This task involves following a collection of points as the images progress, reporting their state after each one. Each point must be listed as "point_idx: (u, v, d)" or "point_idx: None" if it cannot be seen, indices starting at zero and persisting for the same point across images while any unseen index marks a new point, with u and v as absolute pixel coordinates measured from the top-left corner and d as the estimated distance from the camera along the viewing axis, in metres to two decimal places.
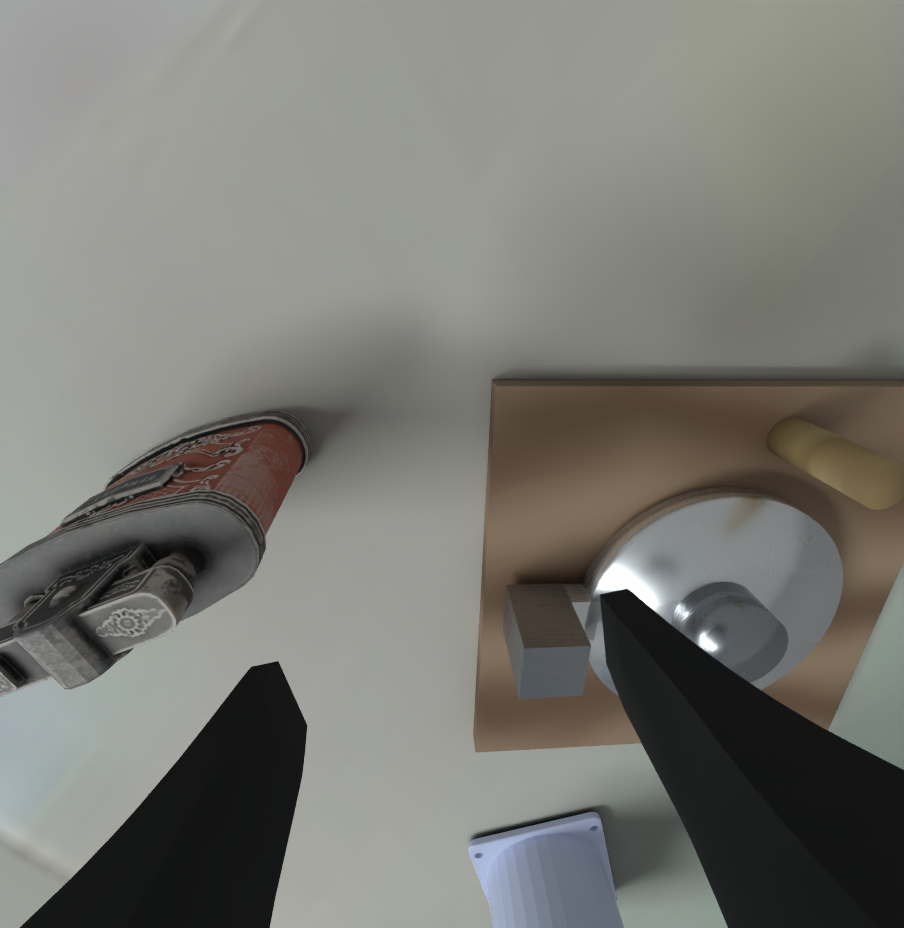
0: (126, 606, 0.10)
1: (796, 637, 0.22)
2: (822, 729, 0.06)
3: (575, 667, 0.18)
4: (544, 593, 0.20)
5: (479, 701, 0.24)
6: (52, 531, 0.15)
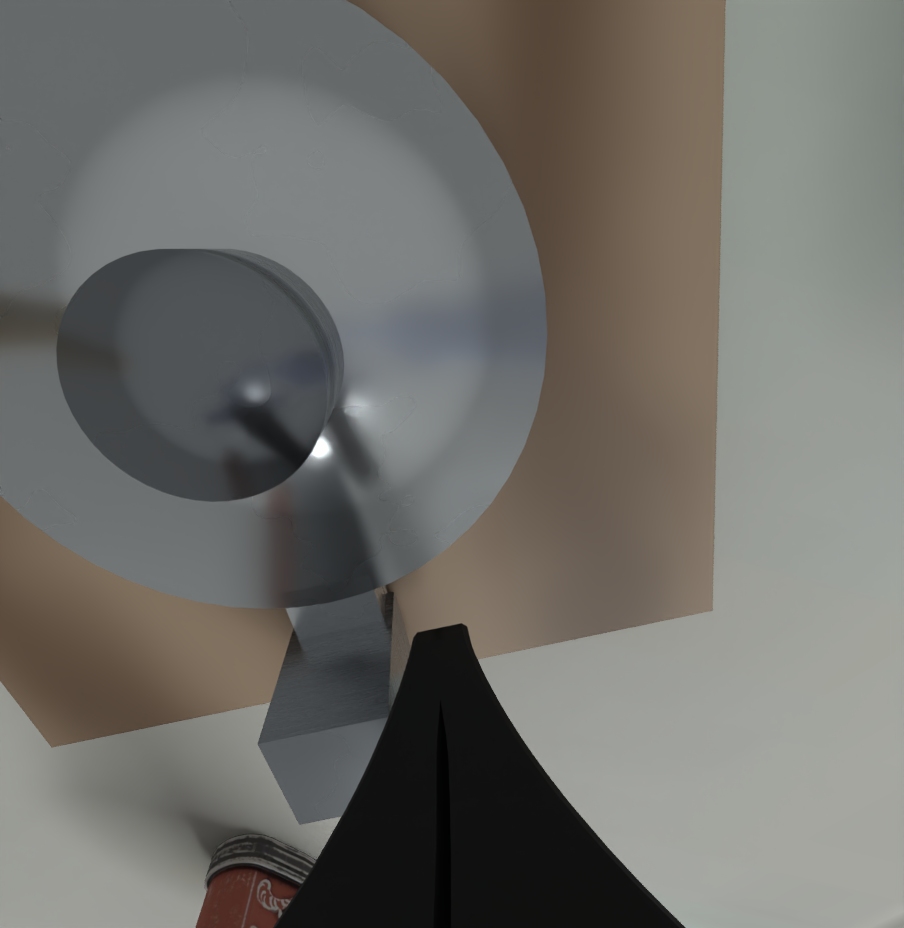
0: None
1: (226, 61, 0.07)
2: (546, 785, 0.06)
3: (318, 749, 0.09)
4: None
5: (588, 634, 0.14)
6: None
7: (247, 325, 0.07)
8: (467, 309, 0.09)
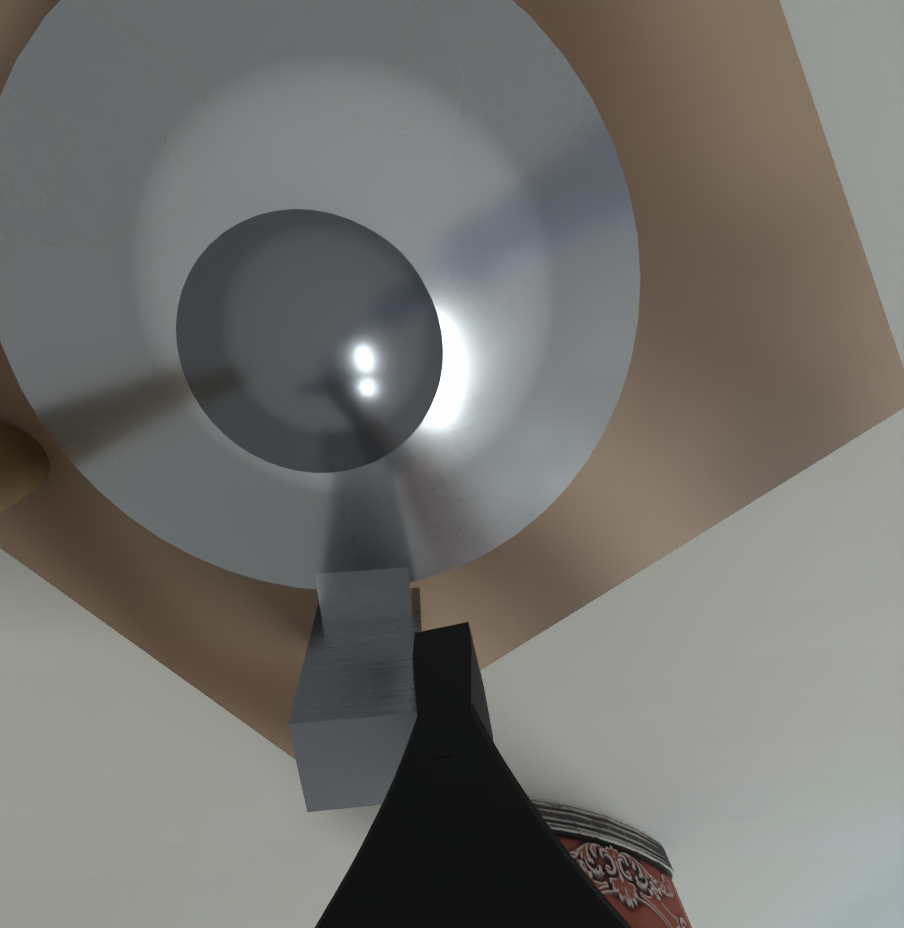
0: None
1: (390, 39, 0.07)
2: (515, 792, 0.06)
3: (347, 736, 0.09)
4: None
5: (778, 483, 0.13)
6: None
7: (380, 301, 0.07)
8: (563, 322, 0.09)
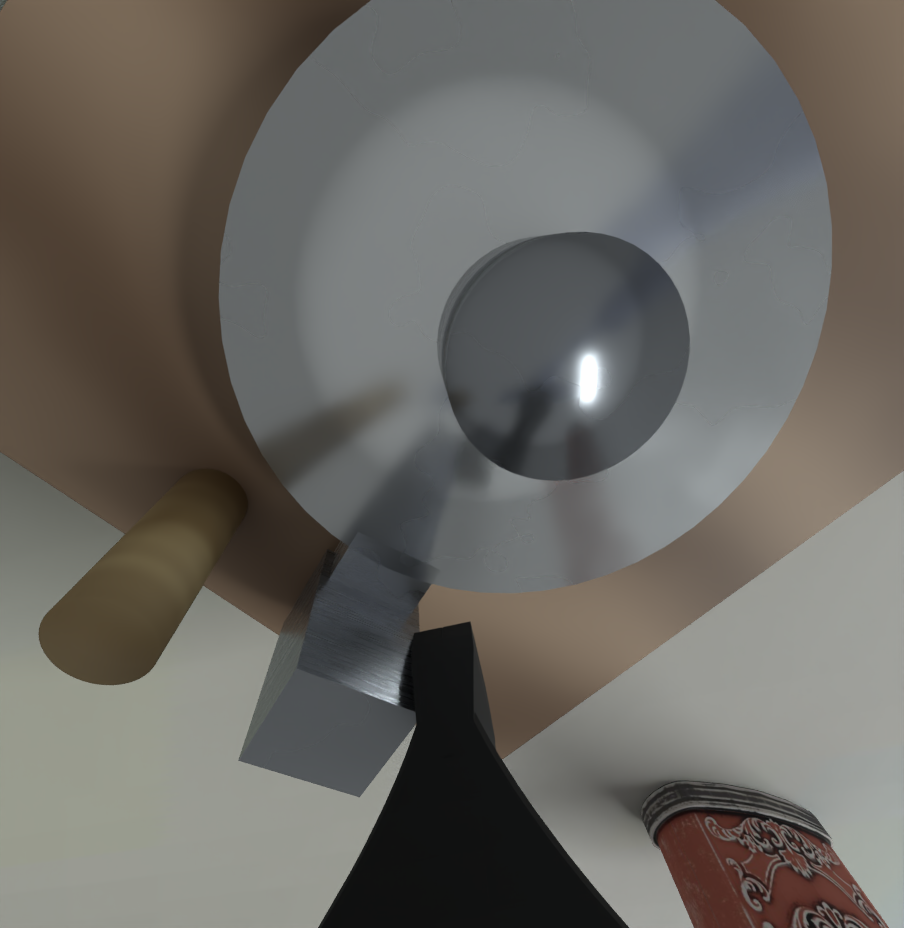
0: None
1: (741, 169, 0.08)
2: (513, 792, 0.06)
3: (338, 705, 0.09)
4: (304, 595, 0.11)
5: None
6: None
7: (648, 362, 0.07)
8: (698, 448, 0.10)
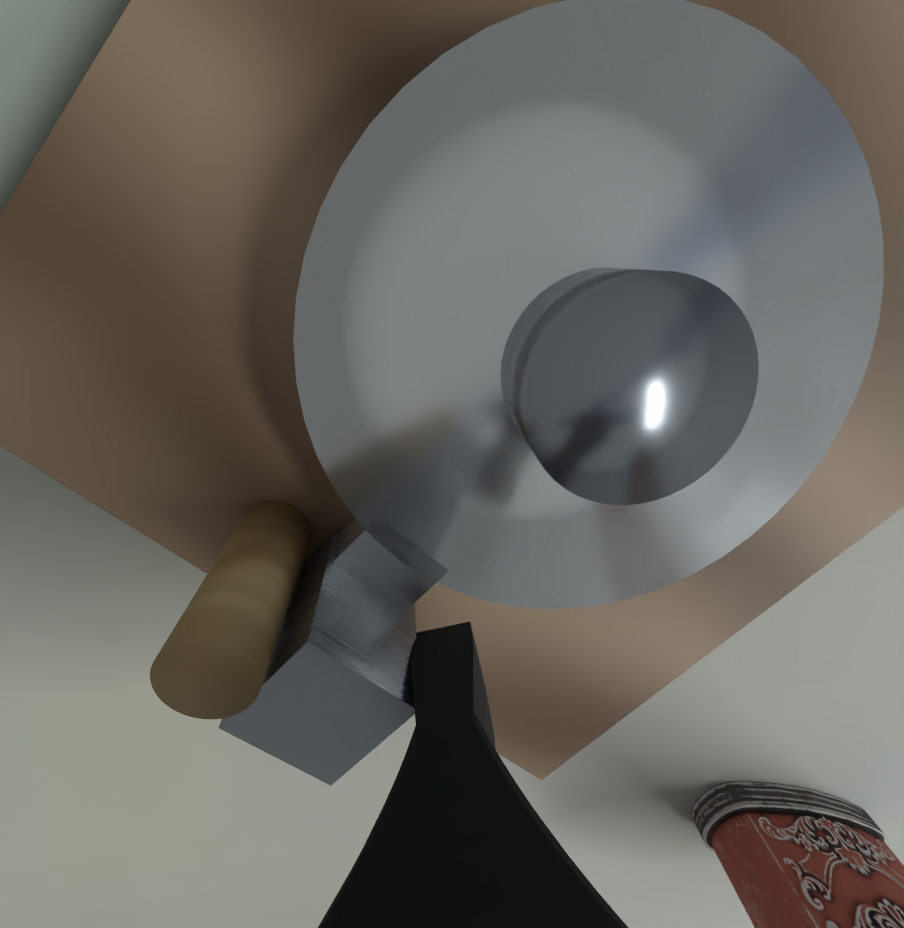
0: None
1: (815, 253, 0.09)
2: (513, 792, 0.06)
3: (338, 687, 0.08)
4: (304, 571, 0.11)
5: None
6: None
7: (713, 409, 0.08)
8: (716, 499, 0.11)
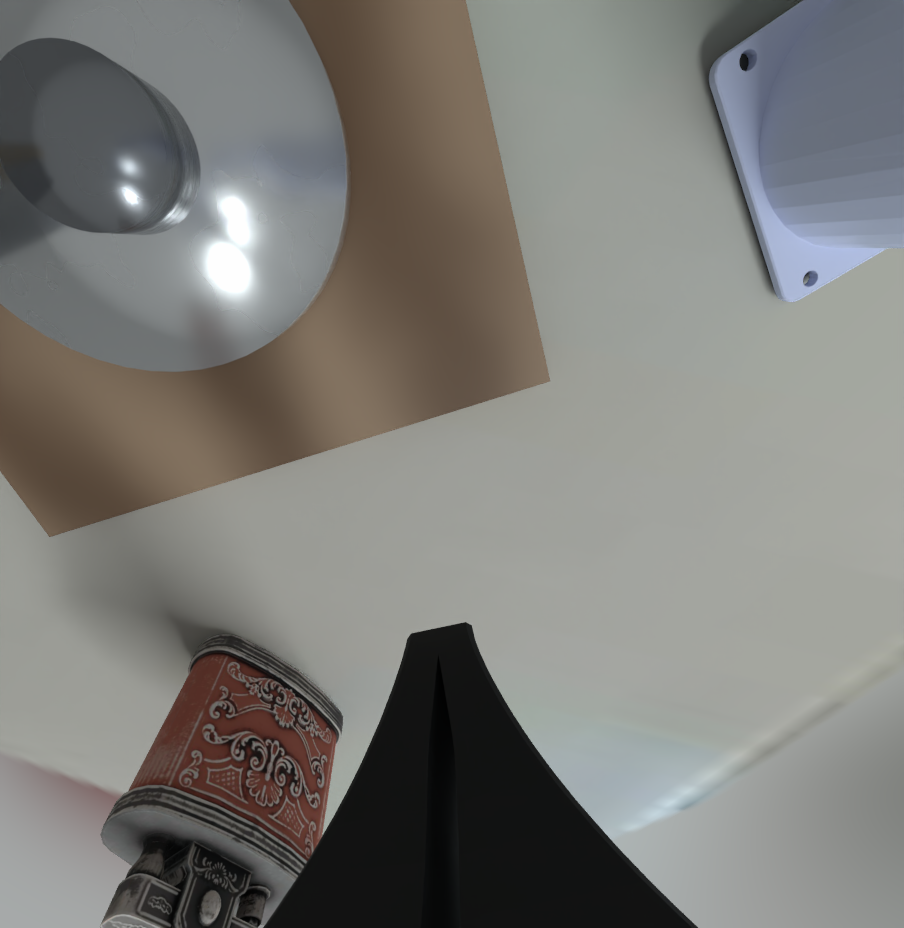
0: None
1: (299, 165, 0.13)
2: (554, 784, 0.06)
3: None
4: None
5: (452, 410, 0.18)
6: None
7: (130, 182, 0.11)
8: (203, 317, 0.14)
